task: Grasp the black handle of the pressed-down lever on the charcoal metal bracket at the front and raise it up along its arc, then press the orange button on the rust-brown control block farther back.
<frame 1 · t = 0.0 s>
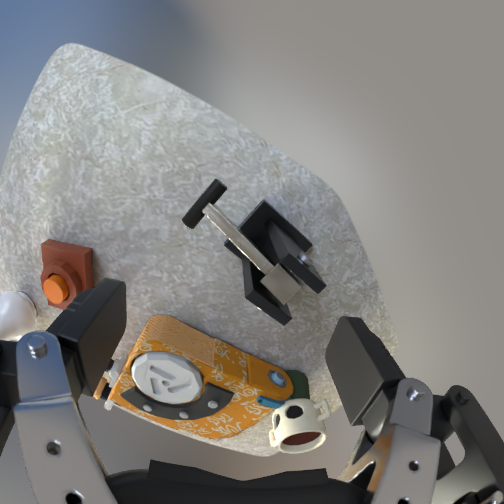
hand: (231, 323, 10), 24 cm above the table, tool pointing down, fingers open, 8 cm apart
control block: (71, 275, 33), on the table
device: (179, 371, 40), on the table, touching character mug
button: (56, 289, 29), point 4 cm above the table, slide at 0.1 cm
flower vase: (23, 304, 35), on the table
bracket: (268, 242, 34), on the table
character mug: (288, 379, 42), on the table, touching device
lever: (244, 244, 24), point 9 cm above the table, hinge at -25.0°
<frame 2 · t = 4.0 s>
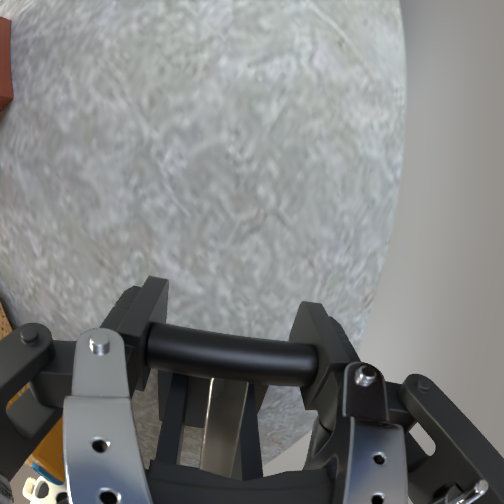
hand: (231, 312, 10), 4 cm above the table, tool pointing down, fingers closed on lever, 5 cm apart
bracket: (210, 386, 17), on the table
character mug: (83, 444, 21), on the table, touching device
lever: (212, 481, 7), point 9 cm above the table, hinge at -25.0°, touching gripper
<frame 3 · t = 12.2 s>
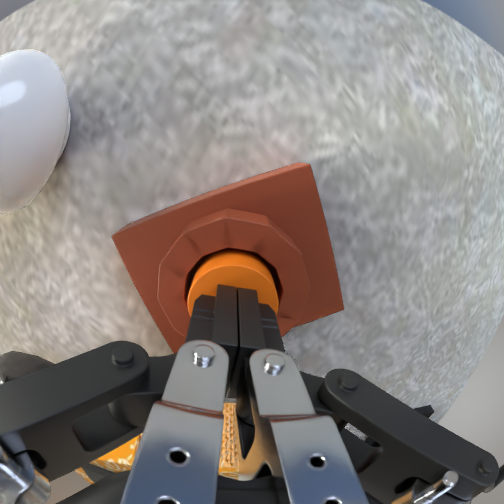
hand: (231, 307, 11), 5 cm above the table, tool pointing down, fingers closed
control block: (233, 260, 15), on the table
device: (161, 439, 22), on the table, touching character mug
button: (233, 296, 11), point 4 cm above the table, slide at -0.3 cm, touching gripper
flower vase: (36, 121, 11), on the table
lever: (457, 490, 11), point 13 cm above the table, hinge at 20.2°
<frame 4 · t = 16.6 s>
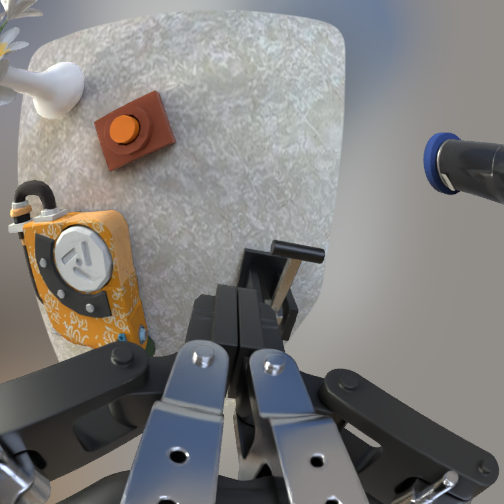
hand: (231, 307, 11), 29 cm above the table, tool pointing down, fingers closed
control block: (136, 131, 33), on the table
device: (83, 261, 40), on the table, touching character mug
button: (124, 129, 29), point 4 cm above the table, slide at 0.1 cm
flower vase: (69, 89, 30), on the table
bracket: (262, 276, 42), on the table
lever: (282, 289, 29), point 13 cm above the table, hinge at 20.2°
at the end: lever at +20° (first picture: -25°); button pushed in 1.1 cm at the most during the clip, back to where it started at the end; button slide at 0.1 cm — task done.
